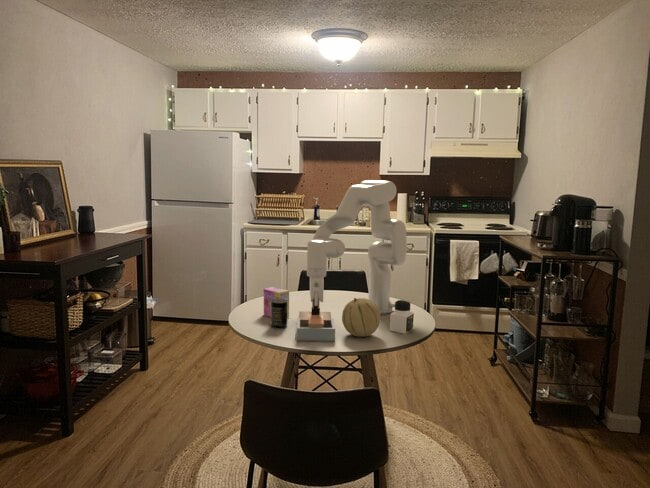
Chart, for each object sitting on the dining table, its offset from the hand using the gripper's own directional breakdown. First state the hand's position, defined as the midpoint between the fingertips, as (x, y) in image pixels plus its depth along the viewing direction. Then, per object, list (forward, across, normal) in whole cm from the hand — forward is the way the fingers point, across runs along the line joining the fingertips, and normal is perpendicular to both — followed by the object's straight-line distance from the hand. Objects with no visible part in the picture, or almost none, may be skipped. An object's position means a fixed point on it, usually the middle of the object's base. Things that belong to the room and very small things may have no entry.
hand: (315, 317), depth 194 cm
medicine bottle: (+5, +2, -34) cm, 35 cm away
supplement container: (+5, +4, +14) cm, 16 cm away
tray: (+5, -7, 0) cm, 8 cm away
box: (+5, +18, +17) cm, 25 cm away
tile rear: (+2, -3, 0) cm, 4 cm away
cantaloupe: (+5, -6, -17) cm, 19 cm away
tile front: (+1, -7, 0) cm, 7 cm away
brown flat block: (+5, +6, 0) cm, 8 cm away
